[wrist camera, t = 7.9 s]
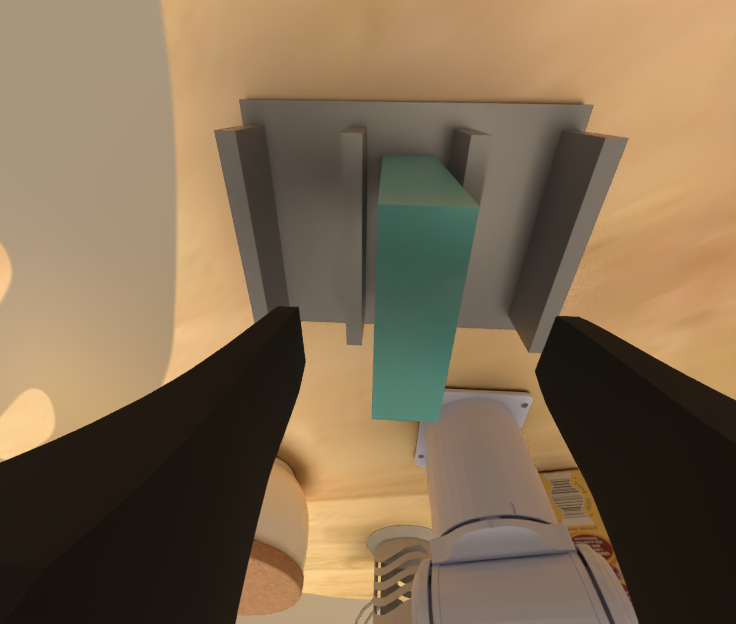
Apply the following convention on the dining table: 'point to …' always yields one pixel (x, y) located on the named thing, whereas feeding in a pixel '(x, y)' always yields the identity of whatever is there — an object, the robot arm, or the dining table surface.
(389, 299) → the teal upright slab
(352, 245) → the rack
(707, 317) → the dining table surface
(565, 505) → the candy box
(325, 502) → the dining table surface
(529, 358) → the dining table surface
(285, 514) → the lidded bowl
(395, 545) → the french press
